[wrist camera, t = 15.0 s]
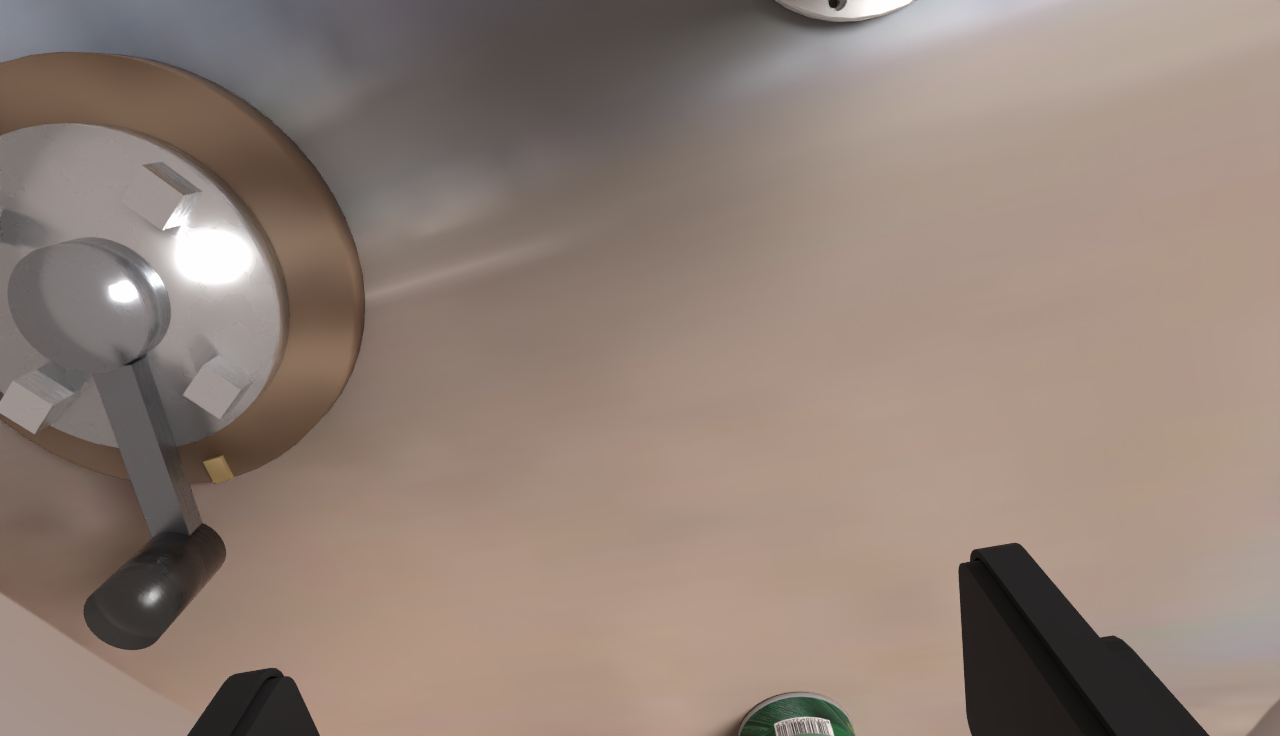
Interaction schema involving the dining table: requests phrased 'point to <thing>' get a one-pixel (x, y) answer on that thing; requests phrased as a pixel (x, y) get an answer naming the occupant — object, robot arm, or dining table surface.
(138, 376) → the crank handle
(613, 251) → the dining table surface
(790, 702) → the canned tomato
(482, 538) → the dining table surface
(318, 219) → the base
